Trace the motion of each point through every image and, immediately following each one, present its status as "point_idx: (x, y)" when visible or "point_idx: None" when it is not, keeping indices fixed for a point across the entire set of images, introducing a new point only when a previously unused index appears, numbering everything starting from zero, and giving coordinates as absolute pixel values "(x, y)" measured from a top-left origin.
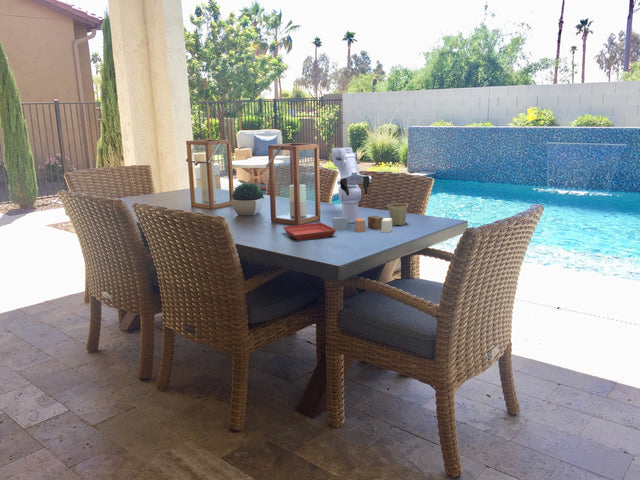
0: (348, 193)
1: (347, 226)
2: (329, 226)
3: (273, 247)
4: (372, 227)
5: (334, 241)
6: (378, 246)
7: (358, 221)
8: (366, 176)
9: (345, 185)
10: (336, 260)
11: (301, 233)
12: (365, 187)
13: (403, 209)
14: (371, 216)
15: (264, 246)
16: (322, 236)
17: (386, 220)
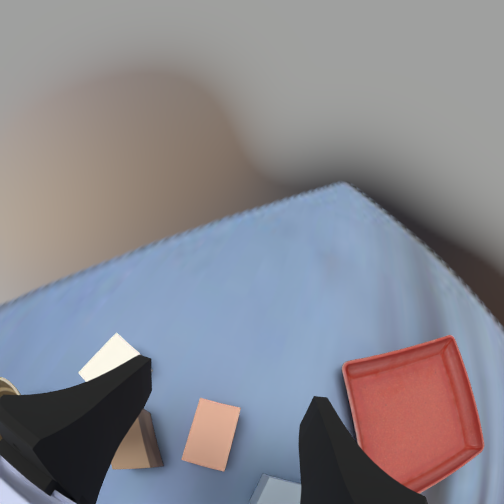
0: (310, 411)
1: (254, 493)
2: (357, 434)
3: (468, 309)
4: (154, 437)
5: (347, 318)
6: (245, 235)
7: (232, 407)
8: (6, 415)
9: (356, 449)
10: (348, 199)
11: (434, 428)
12: (130, 371)
13: (6, 386)
14: (132, 459)
15: (483, 322)
16: (380, 369)
17: (121, 346)
